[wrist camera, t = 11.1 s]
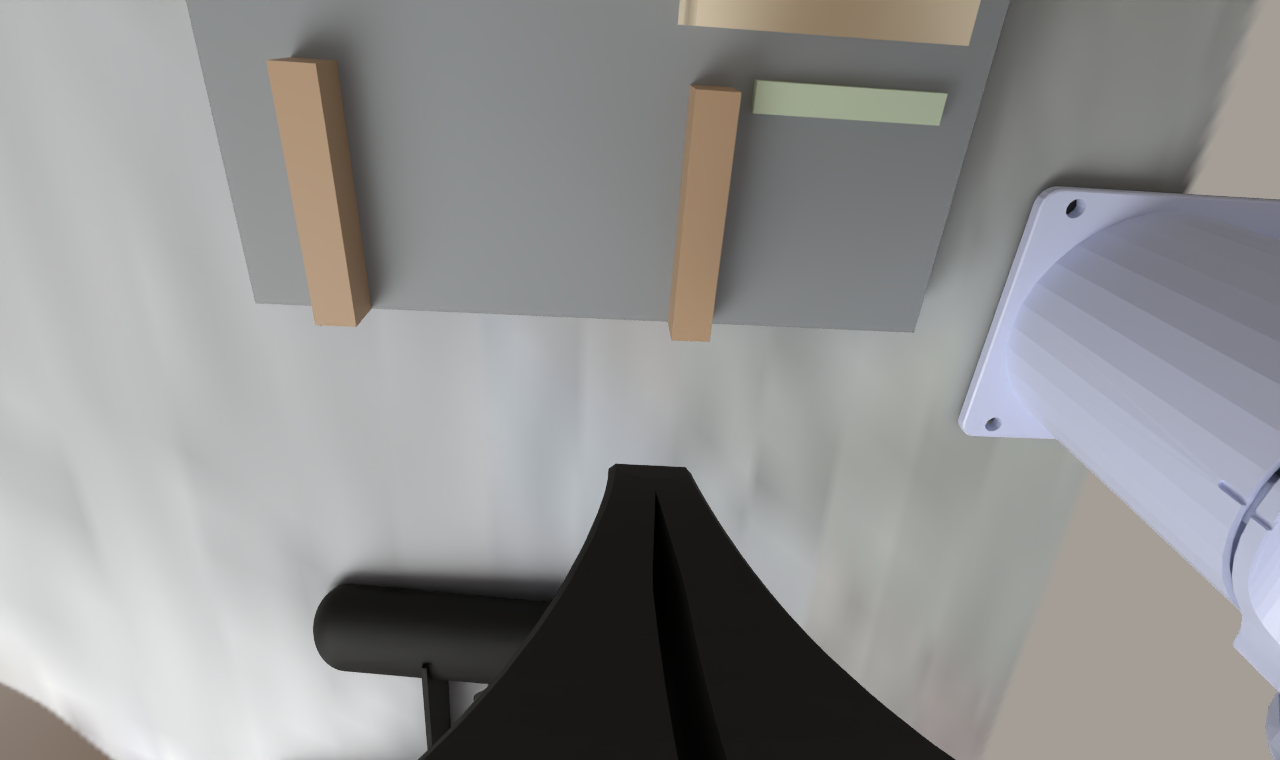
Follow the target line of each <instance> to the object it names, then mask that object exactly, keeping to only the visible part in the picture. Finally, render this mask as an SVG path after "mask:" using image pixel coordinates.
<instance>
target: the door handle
mask: <svg viewBox="0 0 1280 760" xmlns="http://www.w3.org/2000/svg"><path fill="white" fill-rule="evenodd" d="M549 605H550V603H548V602H537V601H526V600H515V599H505V598H494V597H483V596H472V595H461V594H450V593H439V592H429V591H418V590H407V589H396V588H385V587H374V586H364V585H353V584H347V585H342V586H339V587H337V588H335V589H333V590H332V591H330V592H329V593H328V594H327V595H326V596H325V597H324V599H323V600H322V601H321V603H320V605H319V607H318V609H317V611H316V614H315V618H314V625H313V634H314V641H315V645H316V648H317V650H318V652H319V654H320V656H321V657H322V658H323V660H324V661H325V662H326V663H327V664H329V665H330V666H331V667H333V668H335V669H337V670H341V671H349V672H361V673H372V674H383V675H395V676H406V677H417V678H422V686H423V698H424V711H425V723H426V736H427V748H428V749H430V748H431V747H432V746H433V745H434V744H435V743H436V742H437V741H438V740H439V739H440V738H441V737H442V736H443V735H444V734H445V733H446V732H447V731H448V730H449V729H450V728H451V722H450V704H449V685H448V680H451V681H463V682H474V683H485V684H490V683H491V682H492V681H493V680H494V679H495V677H496V676H497V675H498V674H499V673H500V671H501V670H502V669H503V668H504V667H505V665H506V664H507V663H508V661H509V660H510V659H511V658H512V656H513V655H514V654H515V652H516V651H517V650H518V648H519V647H520V646H521V644H522V643H523V642H524V640H525V639H526V638H527V636H528V635H529V634H530V632H531V631H532V630H533V628H534V627H535V625H536V624H537V623H538V621H539V620H540V618H541V617H542V615H543V614H544V612H545V611H546V609H547V608H548V606H549ZM483 691H484V690H483ZM483 691H481V692H479V693H477V694H475V696H474V701H475V700H476V699H477V698H478V697H479V696H480V694H481V693H482V692H483Z"/></svg>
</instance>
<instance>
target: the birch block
mask: <svg viewBox="0 0 1280 760" xmlns="http://www.w3.org/2000/svg"><path fill="white" fill-rule="evenodd" d="M980 2H981V0H680V4H679V16H678V25H691V26H704V27H718V28H731V29H744V30H758V31H771V32H785V33H798V34H812V35H825V36H839V37H852V38H866V39H879V40H892V41H906V42H920V43H934V44H948V45H962V46H969V42H970V38H971V35H972V31H973V27H974V24H975V20H976V16H977V13H978V9H979V5H980Z"/></svg>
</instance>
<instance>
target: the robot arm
mask: <svg viewBox="0 0 1280 760" xmlns="http://www.w3.org/2000/svg"><path fill="white" fill-rule="evenodd" d="M1074 200H1077V204H1076V207H1075V208H1074V210H1073V211H1072V212H1070V213H1069V214H1066V208H1067V207H1068V205H1069V204H1070V203H1071V202H1072V201H1074ZM991 418H995V419H994V421H993V422H992V423H990V424H987V425H985V424H986V423H987V421H988V420H990V419H991ZM958 424H959V426H960V428H961V429H962V430H963V431H964V432H965V433H966V434H967V435H971V436H987V437H1017V438H1046V439H1057V440H1058V441H1059V442H1061V443H1062V444H1063V445H1064V446H1065V447H1066V448H1067V449H1068V450H1069V451H1070V452H1071V453H1072V454H1073V455H1074V456H1075V457H1077V458H1078V459H1079V460H1080V461H1081V462H1082V463H1083V464H1084V465H1085V466H1086V467H1087V468H1088V469H1089V470H1090V471H1091V472H1093V473H1094V474H1095V475H1096V476H1097V477H1098V478H1099V479H1100V480H1101V481H1102V482H1103V483H1104V484H1105V485H1106V486H1108V487H1109V488H1110V489H1111V490H1112V491H1113V492H1114V493H1115V494H1116V495H1117V496H1118V497H1119V498H1120V499H1121V500H1122V501H1123V502H1124V503H1126V504H1127V505H1128V506H1129V507H1130V508H1131V509H1132V510H1133V511H1134V512H1135V513H1136V514H1137V515H1138V516H1139V517H1140V518H1142V519H1143V520H1144V521H1145V522H1146V523H1147V524H1148V525H1149V526H1150V527H1151V528H1152V529H1153V530H1154V531H1155V532H1156V533H1158V534H1159V535H1160V536H1161V537H1162V538H1163V539H1164V540H1165V541H1166V542H1167V543H1168V544H1170V546H1171V547H1173V548H1174V549H1175V550H1176V551H1177V552H1178V553H1179V554H1180V555H1181V556H1182V557H1183V558H1184V559H1185V560H1186V561H1187V562H1188V563H1189V564H1191V565H1192V566H1193V567H1194V568H1195V569H1196V570H1197V571H1198V572H1199V573H1200V574H1201V575H1202V576H1203V577H1204V578H1205V579H1207V580H1208V581H1209V582H1210V583H1211V584H1212V585H1213V586H1214V587H1215V588H1216V589H1217V590H1218V591H1219V592H1220V593H1222V595H1224V596H1225V597H1226V598H1227V599H1228V600H1229V601H1230V602H1231V603H1232V604H1233V605H1234V606H1235V607H1236V608H1237V609H1238V610H1240V611H1241V613H1242V624H1241V627H1240V630H1239V632H1238V634H1237V636H1236V638H1235V639H1234V642H1233V647H1234V648H1236V650H1238V652H1239V653H1241V655H1242V656H1243V657H1245V658H1246V660H1247V661H1248V662H1249V663H1250V664H1251V665H1252V666H1253V667H1254V668H1255V669H1256V670H1257V671H1258V672H1259V673H1260V674H1261V675H1262V676H1263V677H1264V678H1265V679H1266V680H1267V681H1268V682H1269V683H1270V684H1271V685H1272V686H1273V687H1274V688H1275V689H1276V690H1277V691H1278V692H1277V694H1276V695H1275V697H1274V698H1273V700H1272V702H1271V703H1270V705H1269V707H1268V713H1267V720H1266V726H1265V727H1266V733H1267V740H1268V747H1269V749H1270V752H1271V755H1272V757H1273V760H1280V200H1275V199H1259V198H1242V197H1226V196H1210V195H1209V196H1208V195H1194V194H1177V193H1160V192H1144V191H1127V190H1111V189H1094V188H1078V187H1061V186H1056V187H1050V188H1048V189H1046V190H1044V191H1043V192H1042V193H1041V194H1040V195H1039V196H1038V197H1037V199H1036V200H1035V202H1034V204H1033V207H1032V210H1031V213H1030V216H1029V219H1028V221H1027V224H1026V227H1025V230H1024V233H1023V236H1022V239H1021V241H1020V244H1019V247H1018V250H1017V253H1016V256H1015V259H1014V261H1013V264H1012V267H1011V270H1010V273H1009V276H1008V279H1007V281H1006V284H1005V287H1004V290H1003V293H1002V296H1001V299H1000V301H999V304H998V307H997V310H996V313H995V316H994V319H993V321H992V324H991V327H990V330H989V333H988V336H987V339H986V341H985V344H984V347H983V350H982V353H981V356H980V359H979V361H978V364H977V367H976V370H975V373H974V376H973V379H972V381H971V384H970V387H969V390H968V393H967V396H966V399H965V401H964V404H963V407H962V410H961V413H960V416H959V420H958ZM418 760H955V759H954V758H952V757H951V756H949V755H948V754H947V753H945V752H944V751H942V750H941V749H939V748H938V747H937V746H935V745H934V744H932V743H931V742H930V741H928V740H927V739H926V738H925V737H923V736H922V735H921V734H919V733H918V732H917V731H916V730H914V729H913V728H912V727H911V726H909V725H908V724H907V723H906V722H904V721H903V720H902V719H901V718H899V717H898V716H897V715H895V714H894V713H893V712H892V711H890V710H889V709H888V708H887V707H885V706H884V705H883V704H882V703H881V702H880V701H878V700H877V699H876V698H875V697H874V696H872V695H871V694H870V693H869V692H868V691H867V690H866V689H865V688H863V687H862V686H861V685H860V684H859V683H858V682H857V681H856V680H855V679H854V678H852V677H851V676H850V675H849V674H848V673H847V672H846V671H845V670H844V669H842V668H841V667H840V666H839V665H838V664H837V663H836V662H835V661H834V660H833V659H831V658H830V657H829V656H828V655H827V654H826V653H825V652H824V651H823V650H822V649H821V648H820V647H819V646H818V645H817V644H816V643H815V642H814V641H813V640H812V639H811V638H810V637H809V636H808V635H807V633H806V632H805V631H804V630H803V629H802V628H801V627H800V626H799V625H798V624H797V623H796V622H795V621H794V619H793V618H792V617H791V616H790V615H789V614H788V613H787V612H786V610H785V609H784V608H783V607H782V606H781V605H780V604H779V602H778V601H777V600H776V599H775V598H774V596H773V595H772V594H771V593H770V592H769V590H768V589H767V588H766V586H765V585H764V584H763V583H762V581H761V580H760V579H759V578H758V576H757V575H756V574H755V573H754V571H753V570H752V569H751V567H750V566H749V565H748V563H747V562H746V561H745V559H744V558H743V556H742V555H741V554H740V552H739V551H738V549H737V548H736V546H735V545H734V543H733V542H732V541H731V539H730V538H729V536H728V535H727V533H726V532H725V530H724V529H723V527H722V526H721V524H720V523H719V521H718V520H717V518H716V517H715V515H714V513H713V512H712V510H711V508H710V507H709V505H708V504H707V502H706V500H705V498H704V497H703V495H702V493H701V491H700V490H699V488H698V486H697V484H696V482H695V481H694V479H693V477H692V475H691V473H690V472H689V471H688V470H687V469H686V467H669V466H649V465H630V464H615V465H613V466H612V467H611V468H609V471H608V481H607V486H606V490H605V493H604V497H603V500H602V502H601V505H600V508H599V511H598V514H597V516H596V518H595V520H594V523H593V525H592V527H591V530H590V532H589V534H588V536H587V539H586V541H585V543H584V545H583V547H582V549H581V551H580V553H579V555H578V556H577V558H576V560H575V562H574V564H573V566H572V567H571V569H570V571H569V573H568V575H567V577H566V579H565V580H564V582H563V584H562V585H561V587H560V589H559V590H558V592H557V594H556V595H555V597H554V598H553V600H552V602H551V603H550V605H549V606H548V608H547V609H546V611H545V612H544V614H543V615H542V617H541V618H540V620H539V621H538V623H537V624H536V625H535V627H534V628H533V630H532V631H531V632H530V634H529V635H528V636H527V638H526V639H525V640H524V642H523V643H522V644H521V646H520V647H519V648H518V650H517V651H516V652H515V654H514V655H513V656H512V658H511V659H510V660H509V661H508V663H507V664H506V665H505V667H504V668H503V669H502V670H501V671H500V673H499V674H498V675H497V676H496V677H495V679H494V680H493V681H492V682H491V683H490V684H489V685H488V687H487V688H486V689H485V690H484V691H483V692H482V693H481V694H480V696H479V697H478V698H477V699H476V700H475V701H474V702H473V703H472V705H471V706H470V707H469V708H468V709H467V710H466V711H465V712H464V714H463V715H462V716H461V717H460V718H459V719H458V720H457V721H456V722H455V723H454V725H453V726H452V727H451V728H450V729H449V730H448V731H447V732H446V733H445V734H444V735H443V736H442V737H441V738H440V739H439V740H438V741H437V742H436V743H435V744H434V745H433V746H432V747H431V748H430V749H428V750H427V751H426V752H425V753H424V754H423V755H422V756H421V757H420V758H419V759H418Z"/></svg>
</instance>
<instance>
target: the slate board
mask: <svg viewBox="0 0 1280 760" xmlns="http://www.w3.org/2000/svg"><path fill="white" fill-rule="evenodd" d="M186 3H187V7H188V12H189V16H190V20H191V25H192V29H193V33H194V38H195V42H196V46H197V51H198V55H199V59H200V64H201V68H202V72H203V77H204V81H205V85H206V90H207V94H208V98H209V103H210V107H211V112H212V116H213V120H214V125H215V129H216V133H217V138H218V142H219V146H220V151H221V155H222V159H223V164H224V168H225V172H226V177H227V181H228V185H229V190H230V194H231V198H232V203H233V207H234V212H235V216H236V220H237V225H238V229H239V233H240V238H241V242H242V246H243V251H244V255H245V259H246V264H247V268H248V272H249V277H250V281H251V285H252V290H253V294H254V299H255V303H261V304H284V305H306V306H312V309H313V315H314V320H315V325H328V326H351V327H356V326H357V325H358V324H359V323H360V322H361V320H362V319H363V318H364V317H365V316H366V314H367V313H368V312H369V311H370V310H371V308H373V309H396V310H418V311H441V312H463V313H486V314H508V315H531V316H553V317H575V318H598V319H620V320H643V321H665V322H668V324H669V329H670V335H671V340H679V341H702V342H710V335H711V327H712V324H733V325H755V326H777V327H800V328H822V329H845V330H867V331H890V332H912V333H914V330H915V327H916V323H917V320H918V316H919V313H920V309H921V306H922V302H923V299H924V296H925V292H926V289H927V285H928V282H929V278H930V275H931V271H932V268H933V265H934V261H935V258H936V254H937V251H938V247H939V244H940V240H941V237H942V234H943V230H944V227H945V223H946V220H947V216H948V213H949V209H950V206H951V203H952V199H953V196H954V192H955V189H956V185H957V182H958V178H959V175H960V172H961V168H962V165H963V161H964V158H965V154H966V151H967V147H968V144H969V141H970V137H971V134H972V130H973V127H974V123H975V120H976V116H977V113H978V110H979V106H980V103H981V99H982V96H983V92H984V89H985V85H986V82H987V79H988V75H989V72H990V68H991V65H992V61H993V58H994V54H995V51H996V48H997V44H998V41H999V37H1000V34H1001V30H1002V27H1003V23H1004V20H1005V17H1006V13H1007V10H1008V6H1009V3H1010V0H981V2H980V5H979V9H978V13H977V16H976V20H975V24H974V27H973V31H972V35H971V38H970V42H969V46H962V45H948V44H934V43H920V42H906V41H892V40H879V39H866V38H852V37H839V36H825V35H812V34H798V33H785V32H771V31H758V30H744V29H731V28H718V27H704V26H691V25H678V16H679V4H680V0H186Z"/></svg>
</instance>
